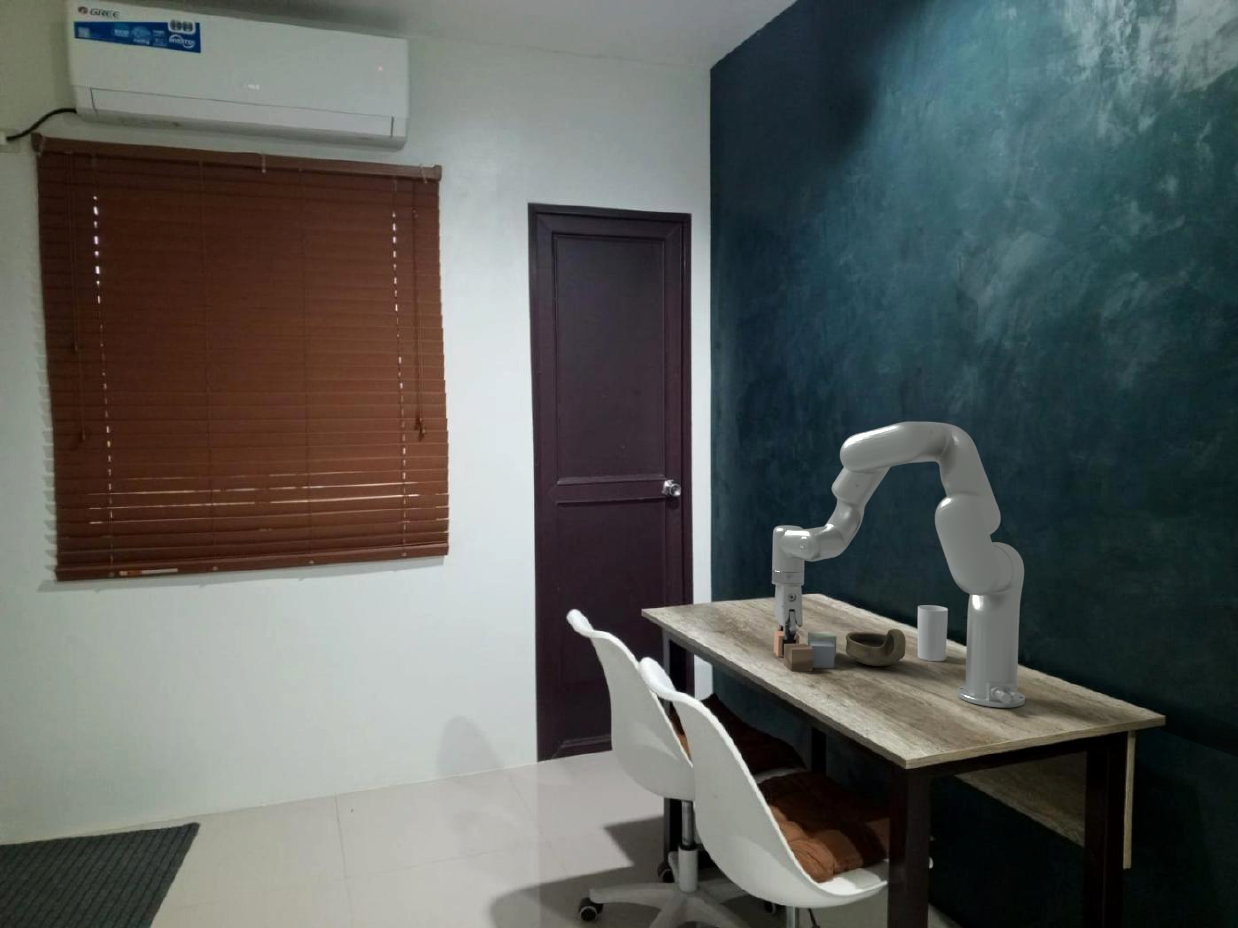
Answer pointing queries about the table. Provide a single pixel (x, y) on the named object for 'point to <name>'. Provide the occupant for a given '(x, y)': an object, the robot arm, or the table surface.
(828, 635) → the sage cube
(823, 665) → the slate cube
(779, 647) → the terracotta cube
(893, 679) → the table surface
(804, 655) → the walnut cube
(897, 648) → the bowl
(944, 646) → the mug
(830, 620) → the table surface
